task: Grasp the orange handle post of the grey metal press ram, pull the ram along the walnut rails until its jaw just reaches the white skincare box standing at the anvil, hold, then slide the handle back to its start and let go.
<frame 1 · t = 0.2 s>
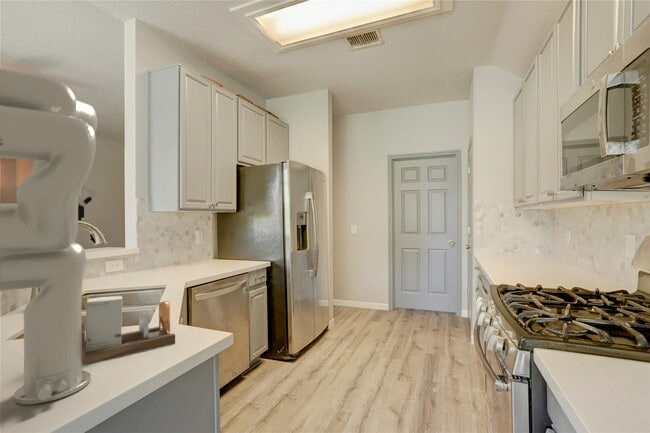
hand: (57, 220, 89), 36 cm above the worktop, tool pointing down, fingers open, 9 cm apart
ram: (155, 322, 98), point 6 cm above the worktop, slide at 0.0 cm
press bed: (130, 346, 93), on the worktop
skincare box: (104, 353, 89), resting on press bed
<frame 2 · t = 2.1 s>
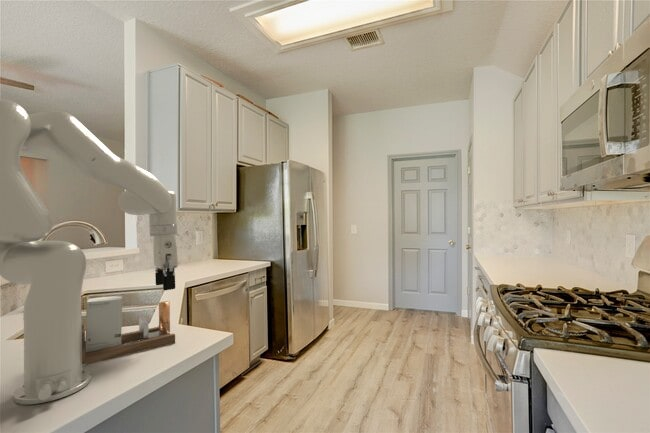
hand: (165, 286, 100), 16 cm above the worktop, tool pointing down, fingers open, 9 cm apart
nothing on the worktop moved.
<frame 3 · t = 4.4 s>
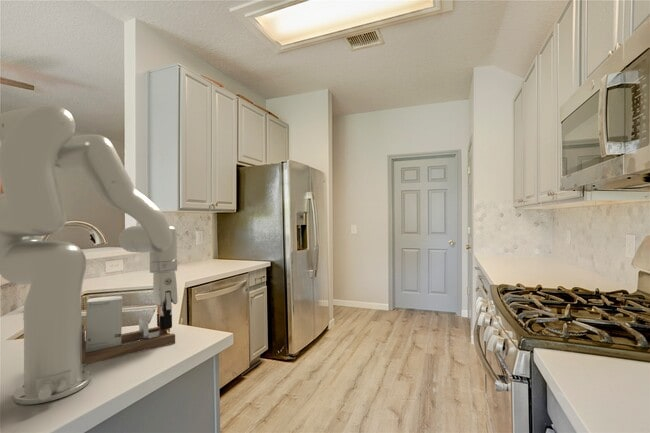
hand: (164, 326, 99), 4 cm above the worktop, tool pointing down, fingers closed on ram, 3 cm apart
ram: (155, 322, 98), point 5 cm above the worktop, slide at 0.0 cm, touching gripper
everything else where it was.
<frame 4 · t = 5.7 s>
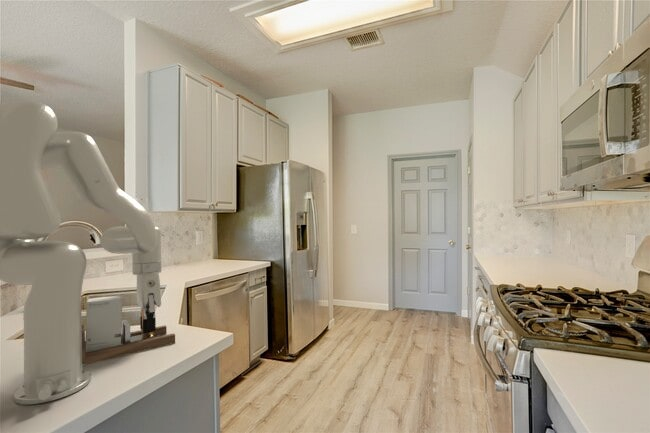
hand: (148, 329, 96), 4 cm above the worktop, tool pointing down, fingers closed on ram, 3 cm apart
ram: (138, 325, 95), point 6 cm above the worktop, slide at 4.5 cm, touching gripper
everything else where it was.
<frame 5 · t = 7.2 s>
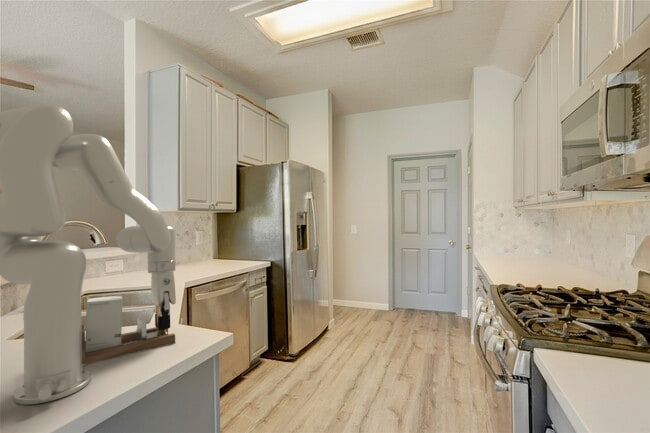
hand: (162, 327, 99), 4 cm above the worktop, tool pointing down, fingers closed on ram, 3 cm apart
ram: (154, 322, 97), point 6 cm above the worktop, slide at 0.5 cm, touching gripper
everything else where it was.
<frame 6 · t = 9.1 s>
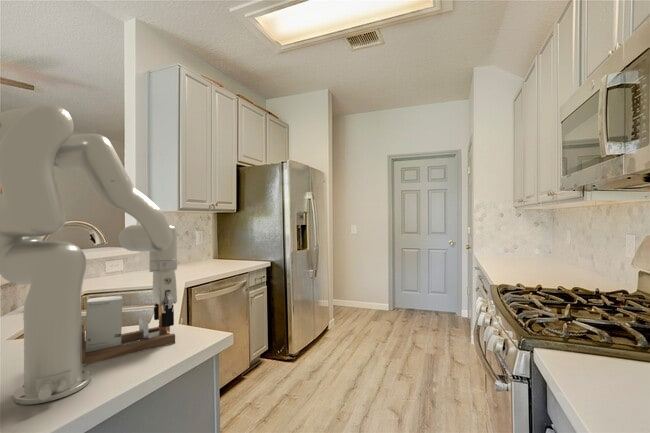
hand: (163, 322, 99), 5 cm above the worktop, tool pointing down, fingers open, 9 cm apart
ram: (155, 322, 97), point 6 cm above the worktop, slide at 0.0 cm
everything else where it was.
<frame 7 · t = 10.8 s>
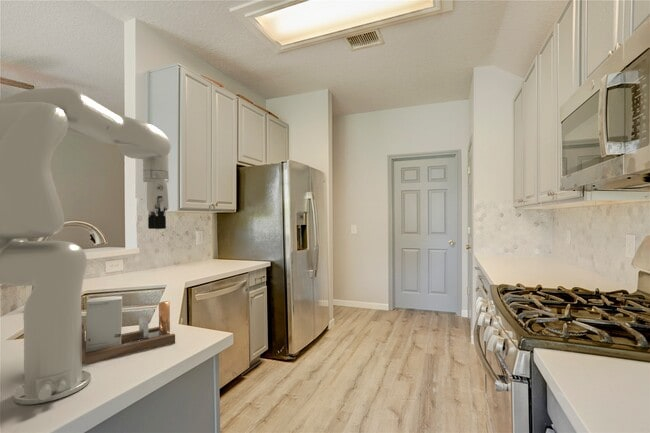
hand: (156, 228, 108), 33 cm above the worktop, tool pointing down, fingers open, 9 cm apart
nothing on the worktop moved.
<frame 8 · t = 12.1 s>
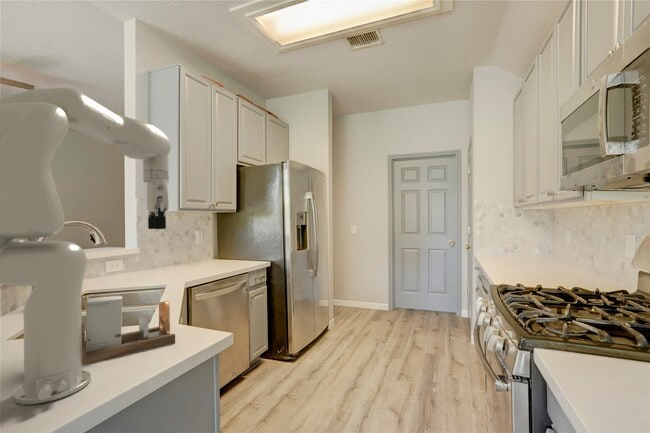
hand: (156, 228, 108), 33 cm above the worktop, tool pointing down, fingers open, 9 cm apart
nothing on the worktop moved.
at the end: ram slide at 0.0 cm; the gripper is holding nothing; skincare box moved 0.3 cm from its start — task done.
